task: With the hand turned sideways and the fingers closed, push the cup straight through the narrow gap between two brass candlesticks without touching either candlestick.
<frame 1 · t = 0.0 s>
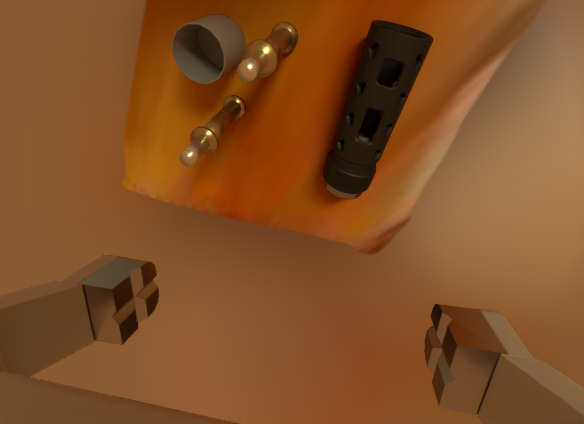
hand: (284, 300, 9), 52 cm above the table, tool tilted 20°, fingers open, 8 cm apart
cup: (222, 41, 54), on the table
candlestick outer: (235, 106, 61), on the table
muzzle brake: (367, 109, 57), on the table
candlestick inner: (284, 37, 51), on the table
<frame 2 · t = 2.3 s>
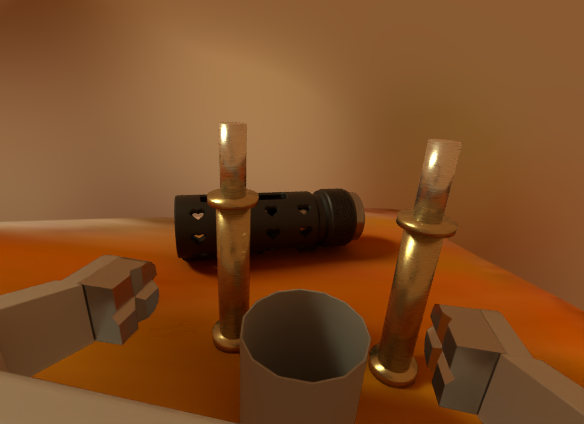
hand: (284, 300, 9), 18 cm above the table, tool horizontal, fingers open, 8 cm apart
candlestick outer: (391, 367, 30), on the table
muzzle brake: (271, 253, 50), on the table
candlestick inner: (234, 336, 32), on the table
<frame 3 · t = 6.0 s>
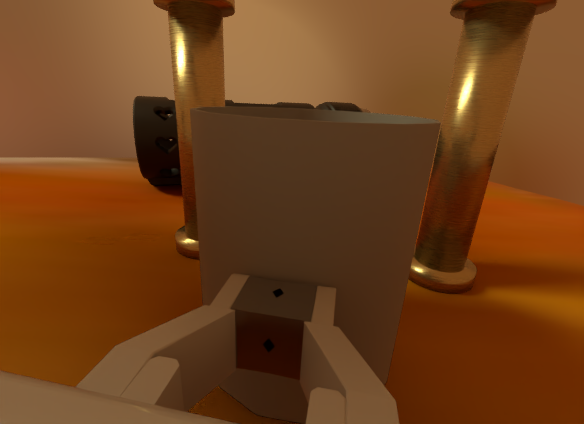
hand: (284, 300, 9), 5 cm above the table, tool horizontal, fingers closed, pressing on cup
cup: (298, 338, 15), on the table, touching gripper
candlestick outer: (435, 273, 20), on the table
muzzle brake: (262, 183, 41), on the table
candlestick inner: (208, 244, 23), on the table
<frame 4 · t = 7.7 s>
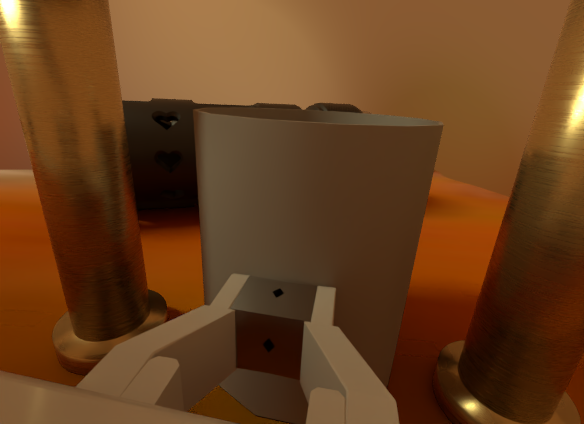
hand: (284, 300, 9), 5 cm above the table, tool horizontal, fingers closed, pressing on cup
cup: (300, 340, 15), on the table, touching gripper
candlestick outer: (494, 403, 12), on the table
muzzle brake: (237, 206, 32), on the table
candlestick inner: (117, 334, 14), on the table
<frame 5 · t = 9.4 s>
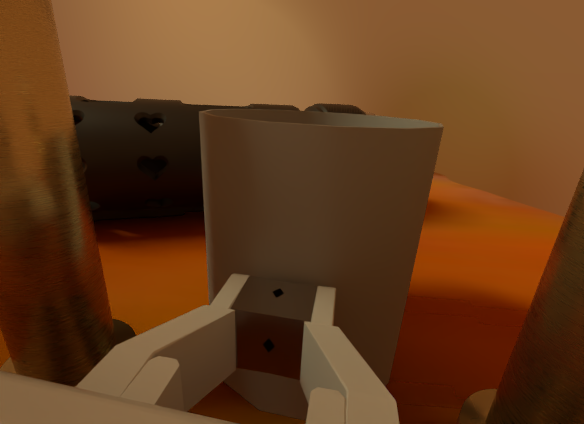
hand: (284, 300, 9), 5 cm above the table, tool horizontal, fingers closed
cup: (302, 337, 15), on the table
muzzle brake: (230, 214, 30), on the table
candlestick inner: (76, 377, 12), on the table
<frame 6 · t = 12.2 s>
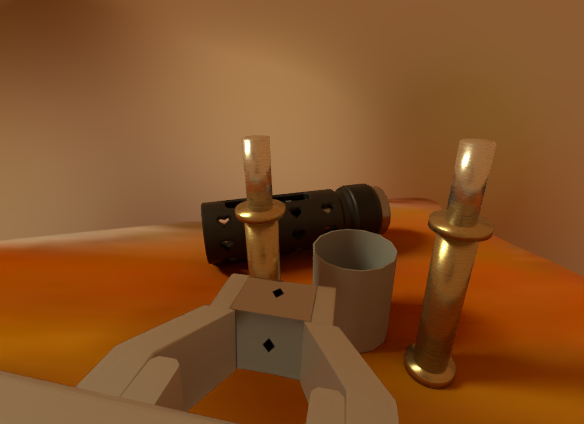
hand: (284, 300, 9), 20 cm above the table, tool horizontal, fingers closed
cup: (349, 325, 35), on the table
candlestick outer: (428, 367, 30), on the table
muzzle brake: (297, 253, 50), on the table
candlestick inner: (269, 341, 33), on the table
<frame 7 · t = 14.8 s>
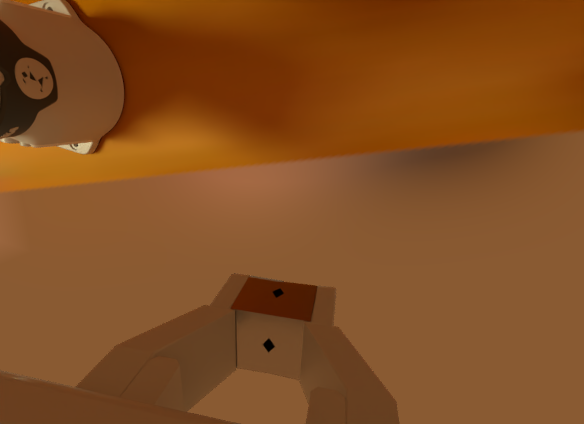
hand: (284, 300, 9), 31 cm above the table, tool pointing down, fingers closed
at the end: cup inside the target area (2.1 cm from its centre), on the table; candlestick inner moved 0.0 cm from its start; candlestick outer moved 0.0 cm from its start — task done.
